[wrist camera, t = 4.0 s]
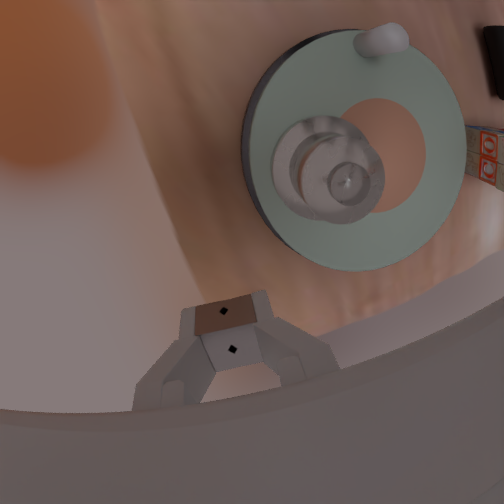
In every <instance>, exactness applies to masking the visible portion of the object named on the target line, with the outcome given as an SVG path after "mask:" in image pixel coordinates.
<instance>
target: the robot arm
mask: <svg viewBox="0 0 504 504" xmlns="http://www.w3.org/2000/svg"><path fill="white" fill-rule="evenodd" d="M251 295H252V296H251ZM260 362H264V363H265V364H266V365H267V366H268V367H269V368H270V369H272V370H273V371H274V372H275V373H276V374H277V375H279V377H280V381H281V387H278V388H273V389H269V390H265V391H260V392H256V393H251V394H247V395H242V396H237V397H232V398H227V399H222V400H216V401H210V402H204V403H200V402H201V400H202V398H203V396H204V394H205V393H206V391H207V389H208V387H209V385H210V384H211V382H212V380H213V378H214V376H215V374H216V372H219V371H223V370H228V369H232V368H236V367H240V366H245V365H251V364H256V363H260ZM0 504H504V297H502V298H501V299H499V300H497V301H495V302H494V303H492V304H490V305H488V306H486V307H485V308H483V309H481V310H479V311H477V312H476V313H474V314H472V315H470V316H468V317H466V318H464V319H462V320H460V321H458V322H456V323H454V324H452V325H450V326H448V327H446V328H444V329H442V330H440V331H437V332H435V333H433V334H431V335H429V336H426V337H424V338H422V339H420V340H417V341H415V342H413V343H410V344H408V345H406V346H403V347H401V348H398V349H396V350H393V351H391V352H388V353H386V354H383V355H380V356H378V357H375V358H372V359H370V360H367V361H364V362H361V363H359V364H356V365H353V366H350V367H347V368H344V369H340V367H339V365H338V363H337V361H336V358H335V356H334V354H333V352H332V350H331V348H330V345H329V344H327V343H325V342H323V341H321V340H320V339H318V338H316V337H314V336H312V335H310V334H308V333H307V332H305V331H303V330H301V329H299V328H297V327H296V326H294V325H292V324H290V323H288V322H286V321H285V320H283V319H281V318H279V317H276V318H274V315H273V312H272V309H271V306H270V302H269V299H268V296H267V293H266V290H265V289H264V290H261V291H257V292H254V293H251V294H248V295H244V296H240V297H236V298H232V299H228V300H222V301H218V302H213V303H208V304H203V305H199V306H194V307H190V308H185V309H183V310H182V311H181V320H180V331H179V340H175V341H174V342H173V343H172V344H171V345H170V347H169V348H168V349H167V350H166V351H165V352H164V353H163V355H162V356H161V357H160V358H159V359H158V360H157V361H156V363H155V364H154V365H153V366H152V367H151V368H150V369H149V371H148V372H147V373H146V374H145V375H144V376H143V377H142V379H141V380H140V381H139V382H138V383H137V384H136V388H135V395H134V401H133V407H132V411H125V412H107V413H44V412H27V411H14V410H5V409H0Z"/></svg>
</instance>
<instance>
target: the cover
mask: <svg viewBox="0 0 504 504" xmlns="http://www.w3.org/2000/svg"><path fill="white" fill-rule="evenodd" d="M270 172H271V179H272V182H273V185H274V188H275V190H276V192H277V194H278V195H279V197H280V198H281V199H282V201H283V202H284V203H285V205H286V206H287V207H288V208H289V209H290V210H292V211H293V212H294V213H296V214H298V215H299V216H301V217H304V218H307V219H310V220H316V221H326V222H329V223H333V224H339V225H342V224H350V223H353V222H356V221H358V220H361V219H362V218H364V217H365V216H367V215H368V214H369V213H370V212H371V211H372V210H373V209H374V208H375V206H376V205H377V204H378V202H379V200H380V198H381V196H382V193H383V190H384V186H385V170H384V166H383V163H382V160H381V158H380V156H379V155H378V153H377V152H376V150H375V149H374V148H373V147H372V146H370V144H369V142H368V140H367V139H366V137H365V136H364V134H363V133H362V132H361V131H360V130H359V129H358V128H357V127H356V126H355V125H353V124H352V123H350V122H348V121H346V120H344V119H341V118H338V117H334V116H326V115H316V116H310V117H306V118H303V119H301V120H299V121H297V122H295V123H294V124H292V125H291V126H290V127H288V128H287V129H286V130H285V131H284V132H283V134H282V135H281V136H280V138H279V139H278V141H277V143H276V145H275V147H274V149H273V152H272V156H271V162H270Z"/></svg>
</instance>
